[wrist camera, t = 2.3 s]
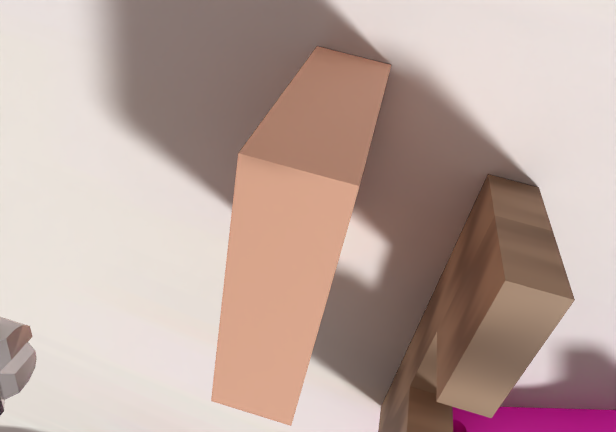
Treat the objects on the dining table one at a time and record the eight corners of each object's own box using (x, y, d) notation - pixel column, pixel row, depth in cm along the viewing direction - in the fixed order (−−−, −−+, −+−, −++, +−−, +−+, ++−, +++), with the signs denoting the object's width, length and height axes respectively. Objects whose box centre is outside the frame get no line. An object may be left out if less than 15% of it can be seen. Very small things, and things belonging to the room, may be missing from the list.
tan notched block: (279, 245, 30) (211, 400, 21) (316, 46, 23) (238, 153, 14) (335, 261, 30) (291, 425, 21) (391, 65, 23) (359, 186, 14)
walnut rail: (488, 173, 24) (505, 280, 18) (538, 187, 24) (574, 300, 18) (381, 406, 36) (368, 521, 30) (414, 416, 36) (409, 535, 29)
